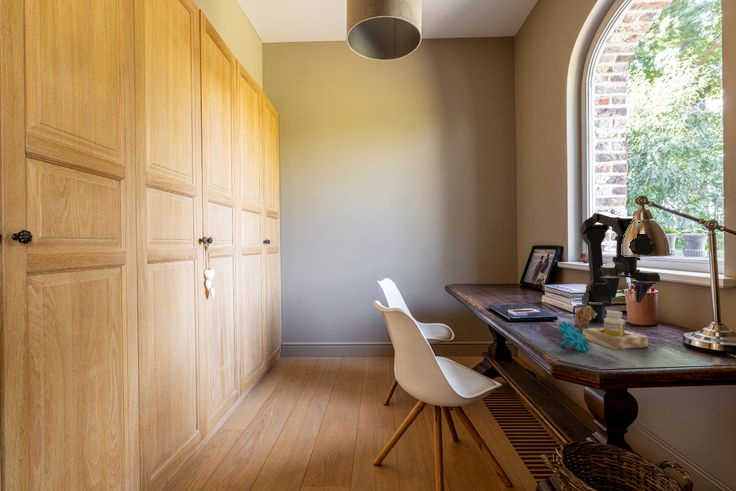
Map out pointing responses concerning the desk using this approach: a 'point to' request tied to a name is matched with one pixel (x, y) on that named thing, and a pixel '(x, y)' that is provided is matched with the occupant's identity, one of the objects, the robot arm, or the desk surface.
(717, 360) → the desk surface
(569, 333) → the teal lumpy piece
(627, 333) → the beige square frame
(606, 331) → the supplement bottle
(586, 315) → the lion figurine
